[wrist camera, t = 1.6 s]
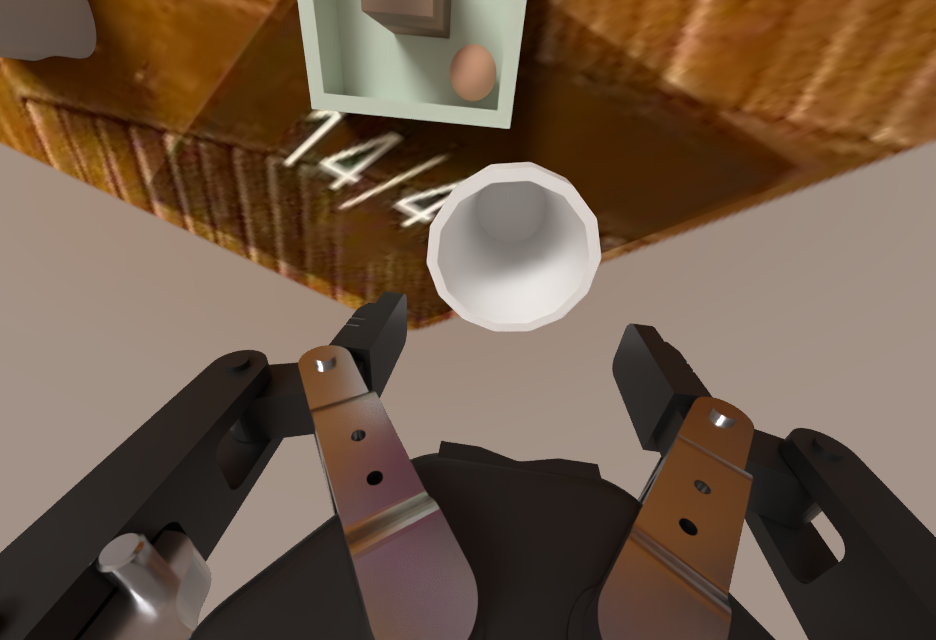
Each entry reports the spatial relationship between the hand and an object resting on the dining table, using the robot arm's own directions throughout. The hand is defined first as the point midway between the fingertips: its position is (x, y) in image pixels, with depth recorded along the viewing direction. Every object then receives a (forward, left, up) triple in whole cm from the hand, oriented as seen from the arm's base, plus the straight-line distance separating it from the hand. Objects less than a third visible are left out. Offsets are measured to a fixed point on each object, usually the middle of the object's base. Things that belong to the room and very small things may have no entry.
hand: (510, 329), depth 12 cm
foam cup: (0, 0, -20) cm, 20 cm away
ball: (+4, -9, -20) cm, 22 cm away
